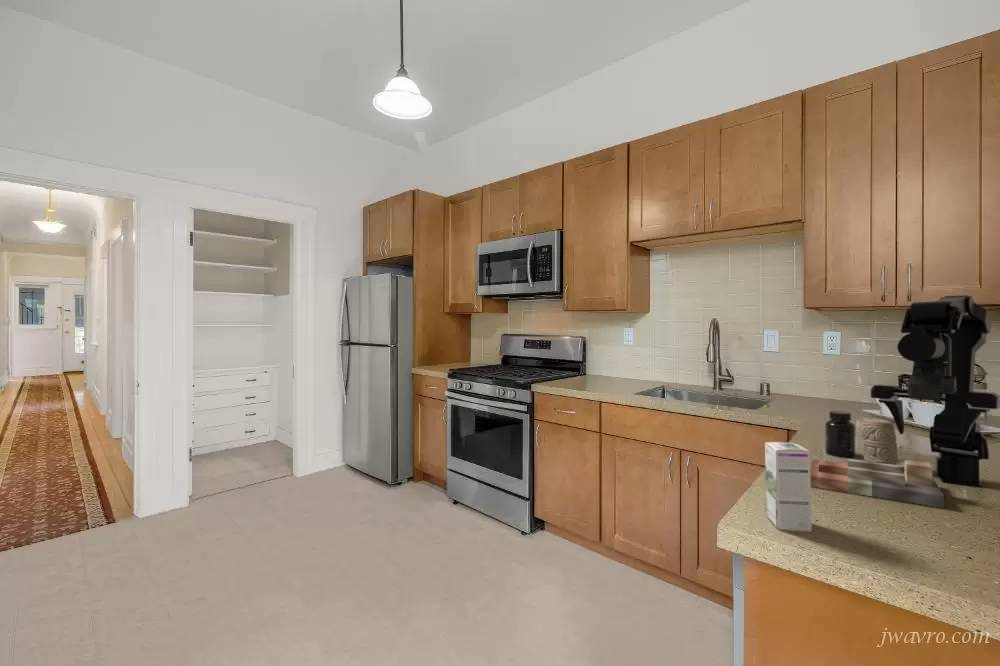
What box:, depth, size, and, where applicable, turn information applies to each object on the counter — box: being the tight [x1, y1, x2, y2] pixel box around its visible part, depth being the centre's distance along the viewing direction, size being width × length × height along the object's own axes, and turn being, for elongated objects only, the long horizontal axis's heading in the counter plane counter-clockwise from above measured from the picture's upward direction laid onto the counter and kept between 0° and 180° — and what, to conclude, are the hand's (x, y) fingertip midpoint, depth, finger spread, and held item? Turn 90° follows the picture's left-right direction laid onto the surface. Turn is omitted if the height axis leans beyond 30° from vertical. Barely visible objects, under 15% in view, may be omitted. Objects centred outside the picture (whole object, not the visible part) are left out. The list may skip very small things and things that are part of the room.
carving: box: [859, 417, 899, 465], centre depth 117 cm, size 6×8×12 cm
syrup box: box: [764, 441, 813, 533], centre depth 83 cm, size 6×6×14 cm
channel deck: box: [810, 458, 945, 510], centre depth 102 cm, size 22×16×4 cm
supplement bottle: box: [824, 410, 856, 459], centre depth 128 cm, size 7×7×12 cm
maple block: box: [904, 459, 933, 486], centre depth 98 cm, size 4×4×4 cm
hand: (930, 437), depth 93 cm, fingers open, 9 cm apart
